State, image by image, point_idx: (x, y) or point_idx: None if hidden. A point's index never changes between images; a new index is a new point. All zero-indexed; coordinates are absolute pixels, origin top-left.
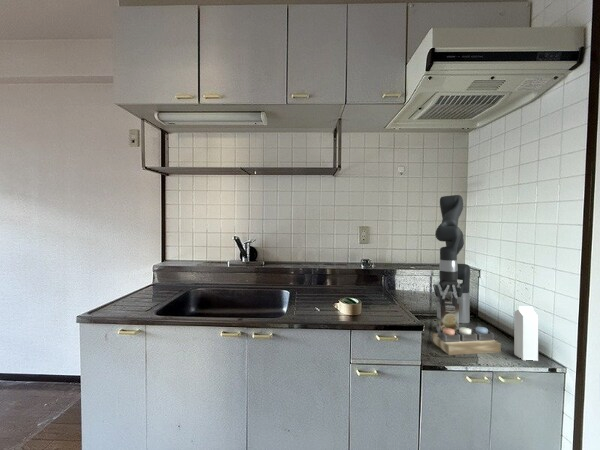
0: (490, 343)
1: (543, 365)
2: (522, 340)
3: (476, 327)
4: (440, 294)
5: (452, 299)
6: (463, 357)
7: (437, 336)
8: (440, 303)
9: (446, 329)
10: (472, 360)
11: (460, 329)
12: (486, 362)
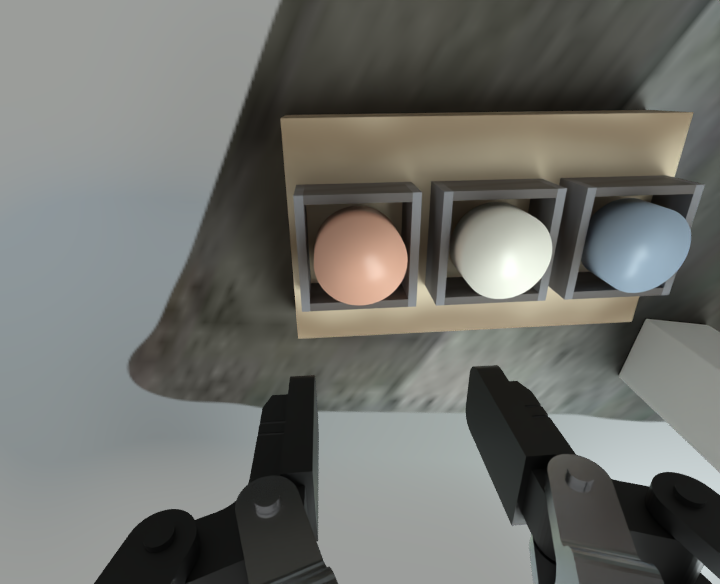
0: (573, 319)
1: (653, 413)
2: (692, 441)
3: (628, 226)
4: (245, 571)
5: (510, 443)
6: (363, 340)
7: (295, 183)
8: (263, 423)
9: (348, 253)
10: (388, 369)
11: (465, 260)
12: (440, 388)
